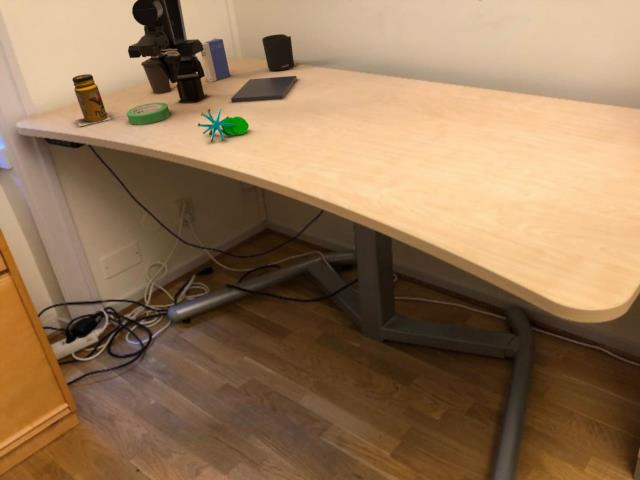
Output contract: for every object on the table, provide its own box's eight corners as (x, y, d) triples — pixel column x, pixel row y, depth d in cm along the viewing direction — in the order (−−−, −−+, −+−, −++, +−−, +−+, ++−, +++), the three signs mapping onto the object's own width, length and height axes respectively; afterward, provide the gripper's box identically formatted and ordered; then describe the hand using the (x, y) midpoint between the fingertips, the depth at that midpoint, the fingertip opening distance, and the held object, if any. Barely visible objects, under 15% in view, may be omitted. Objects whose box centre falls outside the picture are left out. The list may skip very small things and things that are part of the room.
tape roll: (139, 127, 154) (135, 117, 153) (123, 120, 162) (119, 110, 160) (177, 116, 160) (174, 106, 159) (160, 109, 168) (157, 100, 166)
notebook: (297, 79, 182) (296, 75, 182) (282, 99, 165) (282, 94, 164) (250, 83, 184) (249, 79, 184) (231, 102, 167) (230, 98, 166)
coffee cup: (180, 88, 187) (172, 56, 182) (160, 95, 181) (151, 62, 176) (163, 87, 191) (154, 55, 186) (143, 94, 185) (134, 61, 180)
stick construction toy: (202, 137, 135) (198, 105, 135) (195, 148, 141) (191, 117, 141) (252, 139, 140) (248, 108, 141) (243, 150, 146) (239, 120, 147)
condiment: (111, 119, 164) (97, 75, 158) (80, 126, 160) (64, 82, 154) (105, 114, 169) (91, 71, 163) (75, 121, 166) (59, 78, 159)
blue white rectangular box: (225, 75, 197) (216, 37, 191) (230, 75, 196) (222, 38, 189) (206, 81, 192) (197, 42, 186) (211, 81, 191) (203, 43, 184)
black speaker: (264, 72, 195) (258, 41, 190) (272, 65, 203) (267, 35, 197) (291, 70, 193) (286, 39, 188) (298, 64, 201) (293, 33, 196)
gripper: (105, 27, 141) (125, 92, 149) (173, 23, 136) (190, 91, 144) (132, 18, 150) (150, 80, 158) (196, 14, 145) (211, 78, 153)
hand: (174, 83), depth 153 cm, fingers closed
